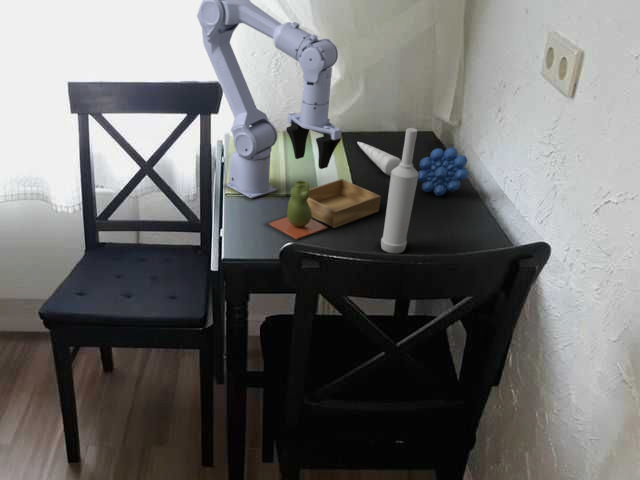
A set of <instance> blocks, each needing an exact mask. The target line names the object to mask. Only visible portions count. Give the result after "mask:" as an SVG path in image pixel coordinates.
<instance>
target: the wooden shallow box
mask: <svg viewBox="0 0 640 480" xmlns="http://www.w3.org/2000/svg"><path fill="white" fill-rule="evenodd" d="M381 197H382V196H381V195H379V194H377V193H376V192H373V191H370V190H368V189H366V188H364V187H361V186H359V185H357V184H354V183H352V182H350V181H347V180H345V179H343V178H340V179H337V180H334V181H331V182H328V183H325V184H322V185H319V186H315V187H312V188H310V191H309V197H308V199H307V202H308V204H309V207H310V209H311V212H312V217H311V218H313V219H314V220H317V221H318V222H319V221H320V222H321V223H322V224H326V225H328V226H329V227H332V228H334V229H335V228H337V227H341V226H344V225H346V224H348V223H352V222H354V221H357V220H359V219H362V218H365V217H368V216H370V215H373V214H376V213H379V212H380V205H381Z"/></svg>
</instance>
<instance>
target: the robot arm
mask: <svg viewBox="0 0 640 480" xmlns="http://www.w3.org/2000/svg"><path fill="white" fill-rule="evenodd" d="M196 17H197V20H198V22H199V24H200V27H201V33H202V43H203V47H204V49H205V51H206V53H207V56H208V58H209V61H210V63H211V66H212V68H213V70H214V73H215V76H216V77H217V80H218V82H219V84H220V87H221V90H222V92H223V94H224V97H225V99H226V101H227V104H228V106H229V108H230V110H231V113H232V116H233V118H234V119H233V122H232V126H231V128H230V132H231V134H232V137H233V147H234V149H235V150H234V152H233V153H232V155H231V158H230V160H229V163H230V164H229V183H227V184H226V186H227V187H228V188H230V189H232V190H234V191H235V192H238V193H240V194H242V195H244V196H246V197H247V198H248V199H249V198H250V199H255V198H258V197H261V196H264V195H268V194H271V193H273V192H276V191H277V188H276V187H274V186H271V185H270V173H271V172H270V170H271V153H272V149H273V148H272V147H273V146H275V144H276V142H277V141H278V131H277V128H276V126H275V125H274V124H273V123H272V122H271V120H270V119H269V117H268V116H267V114H266V113H265V112H263V111H262V110H260V109H258V108H257V105H256V103H255V100H254V98H253V95H252V93H251V91H250V88H249V86H248V83H247V81H246V79H245V77H244V73H243V71H242V69H241V66H240V64H239V62H238V59H237V57H236V55H235V54H236V53H235V52H234V50H233V47H232V44H231V39H232V36H233V34H234V32H235V30H236V29H237V28H238V26H239V25H240V24H244V25H246V26H248V27H250V28H252V29H253V30H255V31H257V32H259V33H261V34H263V35H265V36H266V37H269V38H270V39H272V40H273V44H274V47H275V48H276V49H277V50H279V51H281V52H282V53H284V54H286V56H289V57H290V58H292V59H293V60H295V61H297V62H298V64H299V66H300V68H301V70H302V78H303V81H302V94H301V95H302V96H301V97H302V98H301V109H300V110H301V111H300V113H297V112H293V113H288V114H287V124H289V125H290V126H287V127H286V129H285V130H286V133H287V134H288V136H289V138H290V141H291V145H292V148H293V154H294V158H295V160H299V159H302V158H303V159H304V157H305V154H306V147H307V139H308V136H309V132H310V131H312V132H315V133H318V134H320V135H322V136H320V137H317V138H315V142H316V145H317V149H318V150H317V151H318V169H320V170H324V169H327V168H328V167H329V164H330V161H331V158H332V156H333V154H334V151H335V149H336V148H337V146H338V145H339V143H340V142H341V140H342V129H341V128H339V127H337V126H336V125H334V124H333V123H331V119H330V118H329V107H330V99H331V98H330V96H331V86H332V85H331V84H332V71H333V66H335V64H336V63H337V61H338V58H339V52H338V48H337V46H336V45H335V43H334V42H333V41H331V39H329V38H321V39H318V35H316V34H310V33H309V32H307V31H306V30H304V29H302V28H301V27H300V23H298V22H297V21H294V22H291V21H288V22H284V23H281V22H280V21H278V20H277V19H275V18H274V17H273V16H271V15H270V14H268V13H267V12H265V11H264V10H263V9H262V8H260V7H259V6H257V5H255V4H254V3H253V2H252V1H251V0H202V1H201V2H200V5H199V8H198V11H197V14H196Z"/></svg>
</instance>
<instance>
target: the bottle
mask: <svg viewBox="0 0 640 480" xmlns="http://www.w3.org/2000/svg"><path fill="white" fill-rule="evenodd" d="M417 136H418V129H417V128H414V127H408V128H406V130H405V136H404V144H403V149H402V155H401V161H402V162H401V163H399V166H397V167H396V168H394V169H393V170H392V171H391V176H390V178H389V179H390V180H389V188H388V196H387V203H386V211H385V219H384V225H383V226H384V227H383V234H382V237H381V239H380V247H381V250H383V251H384V252H387V253H390V254H401V253H404V251H405V250H406V247H407V245H408V240H407V237H408V236H407V235H408V232H409V227H410V221H411V217H412V216H411V215H412V211H413V205H414V200H415V195H416V190H417V185H418V175H419V174H418V172H419V171H417V170H416V168H415V167H414V163H413V158H414V153H415V147H416V146H415V145H416V140H417Z"/></svg>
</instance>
